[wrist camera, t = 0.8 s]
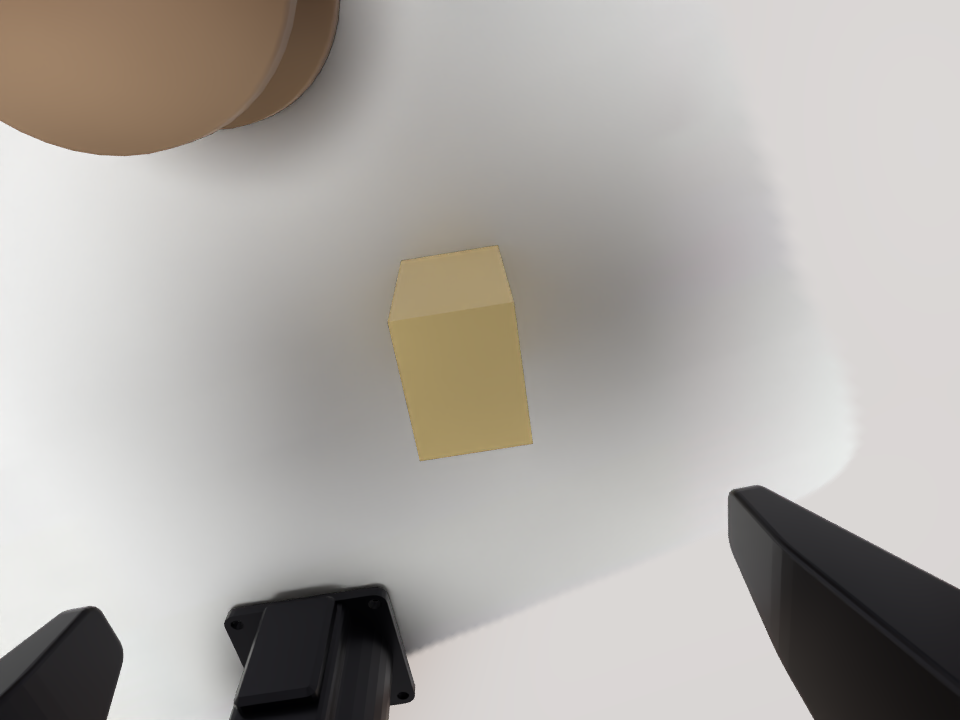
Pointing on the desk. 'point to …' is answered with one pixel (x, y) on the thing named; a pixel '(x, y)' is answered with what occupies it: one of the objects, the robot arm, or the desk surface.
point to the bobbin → (155, 67)
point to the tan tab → (459, 354)
